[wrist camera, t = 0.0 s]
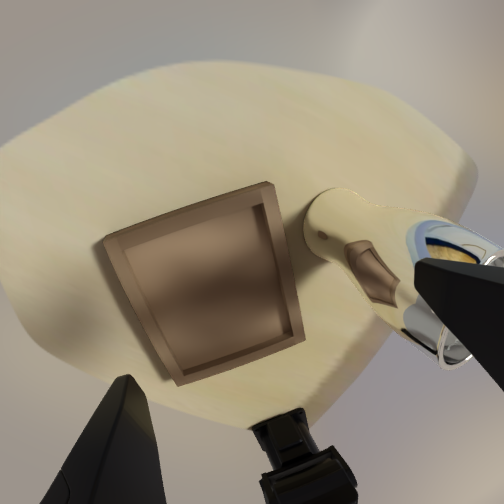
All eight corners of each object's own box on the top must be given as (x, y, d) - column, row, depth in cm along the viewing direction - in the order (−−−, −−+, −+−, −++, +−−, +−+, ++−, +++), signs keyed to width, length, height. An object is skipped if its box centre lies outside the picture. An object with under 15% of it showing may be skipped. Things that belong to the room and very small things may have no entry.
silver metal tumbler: (293, 265, 25) (415, 392, 11) (301, 179, 22) (469, 249, 9) (362, 260, 27) (487, 353, 13) (373, 184, 24) (528, 243, 11)
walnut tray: (298, 330, 27) (305, 340, 26) (175, 374, 26) (177, 386, 24) (266, 181, 22) (274, 184, 20) (106, 235, 20) (102, 242, 18)
